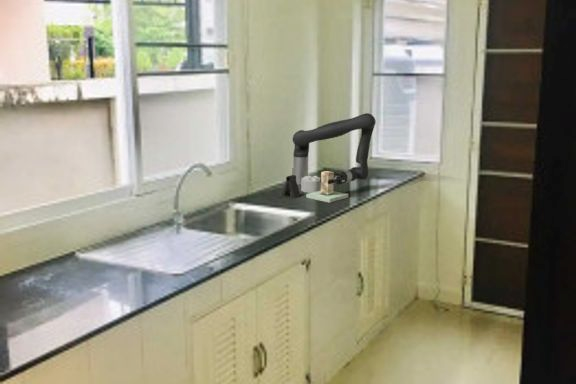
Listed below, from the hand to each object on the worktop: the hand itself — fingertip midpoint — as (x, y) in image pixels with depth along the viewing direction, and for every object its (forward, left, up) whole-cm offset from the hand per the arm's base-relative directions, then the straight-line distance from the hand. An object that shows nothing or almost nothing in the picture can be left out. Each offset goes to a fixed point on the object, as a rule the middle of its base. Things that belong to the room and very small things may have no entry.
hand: (324, 181), depth 340 cm
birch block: (0, +3, -7) cm, 7 cm away
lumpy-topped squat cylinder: (-18, +10, -10) cm, 23 cm away
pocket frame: (0, +3, -10) cm, 10 cm away
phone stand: (-17, -9, -10) cm, 22 cm away
